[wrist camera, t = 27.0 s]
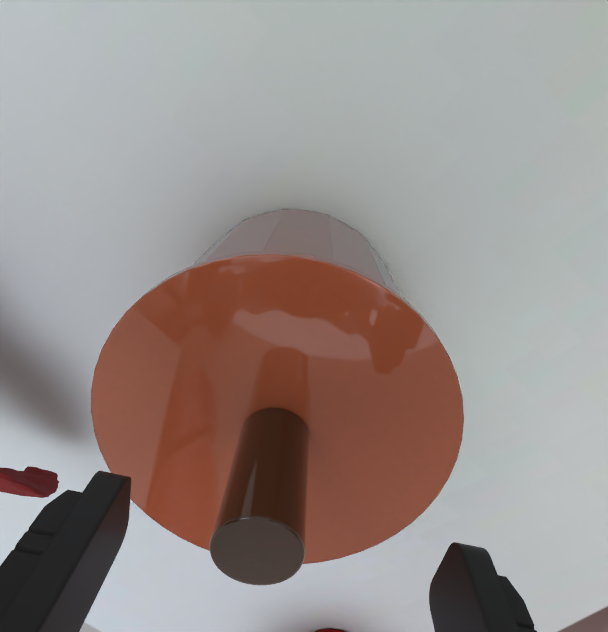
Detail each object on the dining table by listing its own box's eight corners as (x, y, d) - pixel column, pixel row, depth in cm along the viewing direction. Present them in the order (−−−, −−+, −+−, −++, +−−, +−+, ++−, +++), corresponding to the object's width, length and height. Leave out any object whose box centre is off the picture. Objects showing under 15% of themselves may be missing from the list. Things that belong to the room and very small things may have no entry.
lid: (42, 298, 16) (-119, 389, 10) (425, 199, 14) (498, 241, 8) (180, 561, 21) (126, 722, 15) (473, 514, 19) (540, 677, 13)
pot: (168, 238, 27) (52, 313, 15) (370, 184, 25) (411, 224, 14) (233, 406, 31) (181, 561, 20) (406, 370, 30) (461, 516, 18)
